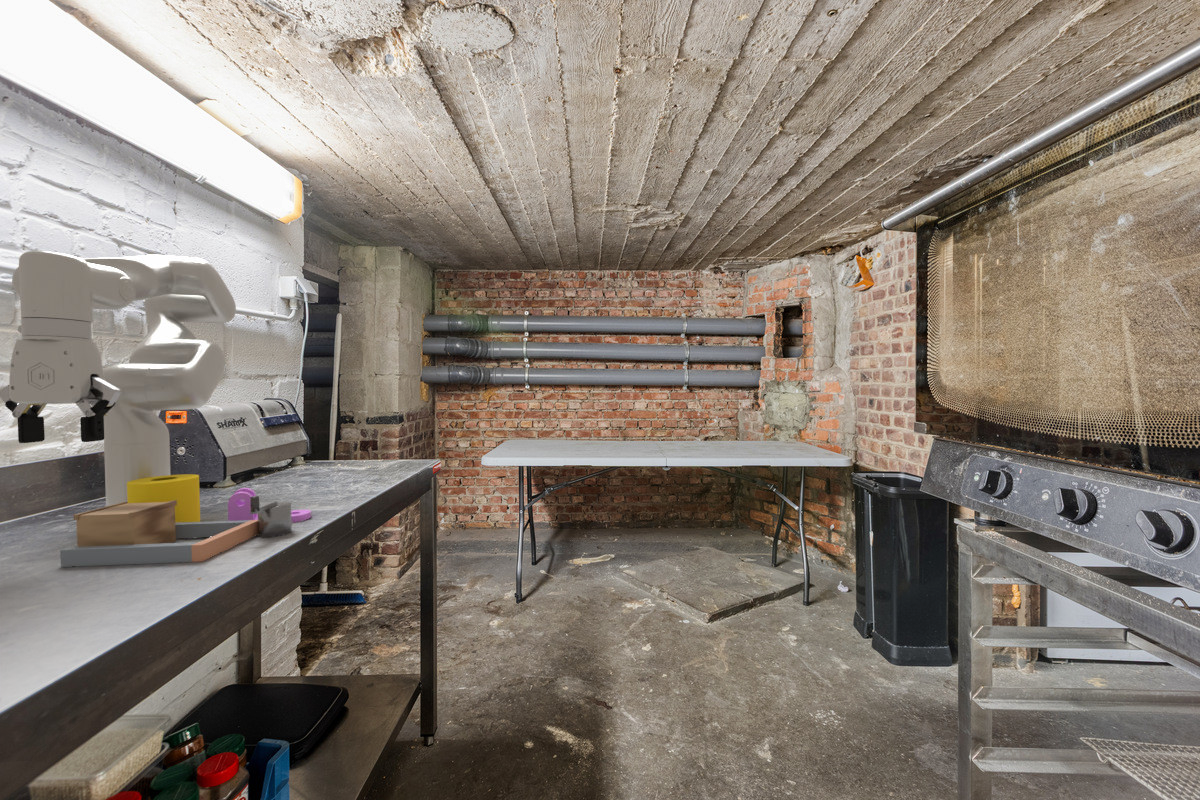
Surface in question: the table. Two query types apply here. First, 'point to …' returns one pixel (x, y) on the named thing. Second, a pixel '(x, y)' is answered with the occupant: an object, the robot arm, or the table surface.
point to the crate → (127, 524)
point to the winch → (272, 517)
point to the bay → (166, 546)
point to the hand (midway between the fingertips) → (62, 441)
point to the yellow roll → (169, 494)
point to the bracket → (242, 508)
